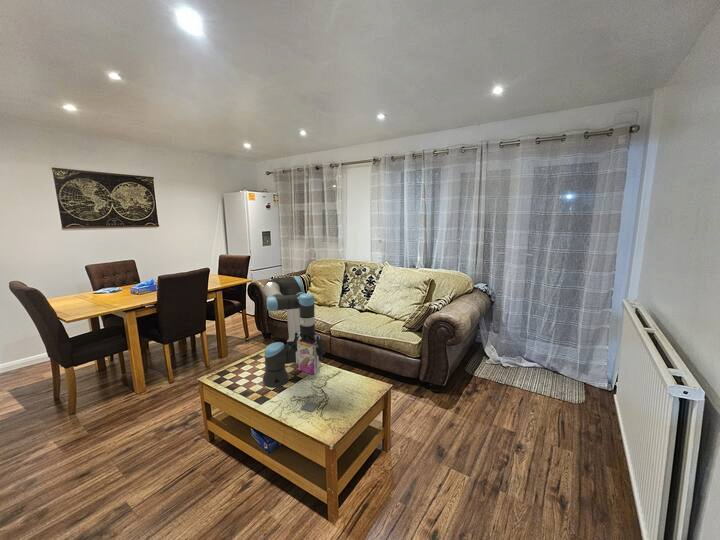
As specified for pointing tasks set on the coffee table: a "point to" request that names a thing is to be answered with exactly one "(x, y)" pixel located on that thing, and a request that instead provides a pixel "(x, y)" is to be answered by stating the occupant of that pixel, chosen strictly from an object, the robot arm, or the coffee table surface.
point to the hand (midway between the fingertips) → (308, 364)
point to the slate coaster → (309, 406)
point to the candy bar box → (307, 357)
